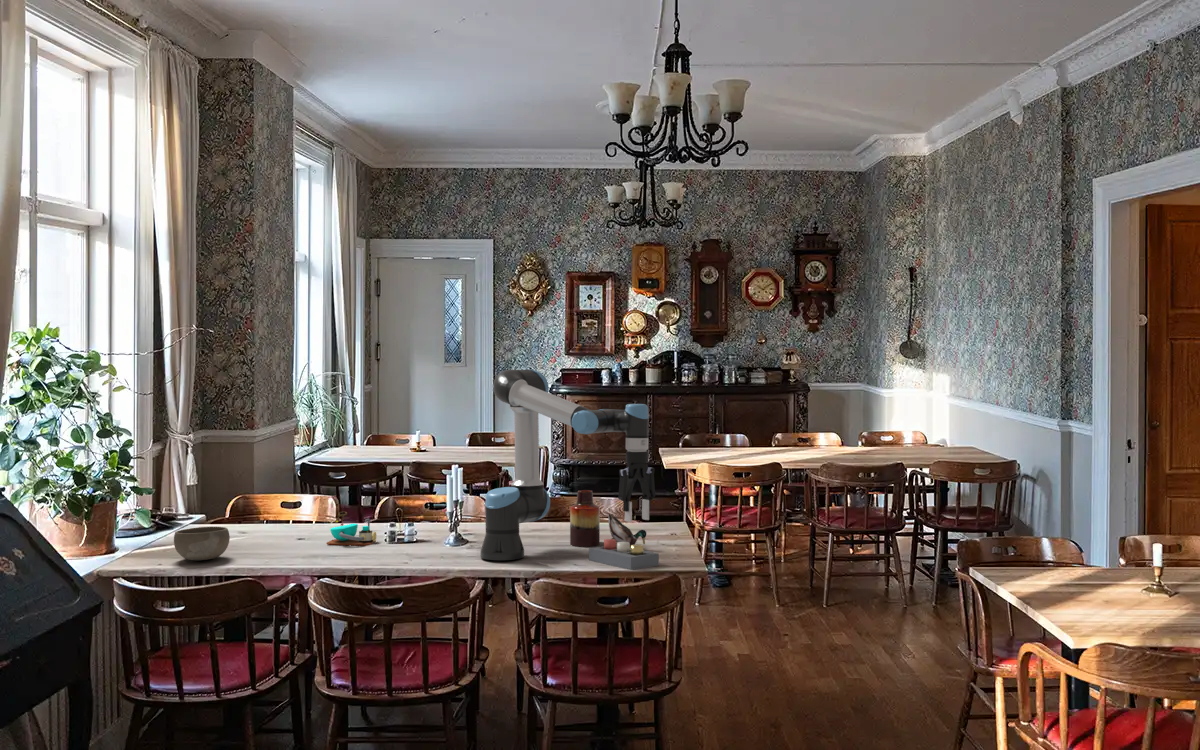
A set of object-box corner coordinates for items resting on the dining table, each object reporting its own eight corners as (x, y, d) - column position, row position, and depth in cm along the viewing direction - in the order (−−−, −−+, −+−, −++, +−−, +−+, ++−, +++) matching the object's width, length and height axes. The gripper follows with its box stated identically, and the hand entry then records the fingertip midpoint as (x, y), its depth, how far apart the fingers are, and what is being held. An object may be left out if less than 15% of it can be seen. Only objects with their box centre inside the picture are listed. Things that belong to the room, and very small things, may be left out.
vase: (605, 546, 375) (605, 491, 375) (584, 549, 368) (584, 493, 368) (585, 543, 383) (585, 488, 383) (564, 546, 375) (564, 490, 375)
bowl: (170, 556, 353) (170, 527, 353) (224, 552, 362) (225, 524, 362) (177, 564, 338) (177, 534, 338) (233, 560, 347) (233, 530, 347)
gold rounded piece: (636, 557, 334) (636, 547, 334) (627, 555, 337) (627, 545, 337) (645, 556, 337) (645, 545, 337) (637, 554, 340) (637, 544, 340)
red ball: (609, 551, 345) (609, 541, 345) (601, 550, 348) (601, 539, 348) (618, 550, 347) (618, 540, 347) (611, 548, 351) (611, 538, 351)
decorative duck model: (654, 540, 366) (638, 501, 369) (644, 543, 359) (628, 503, 363) (621, 554, 373) (606, 516, 376) (611, 558, 366) (595, 518, 369)
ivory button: (622, 554, 339) (622, 544, 339) (614, 553, 343) (614, 542, 343) (632, 553, 342) (632, 542, 342) (624, 551, 345) (624, 541, 345)
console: (630, 569, 330) (630, 557, 330) (589, 560, 347) (589, 548, 347) (658, 565, 337) (658, 553, 337) (616, 556, 355) (616, 544, 355)
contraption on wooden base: (368, 549, 370) (368, 507, 370) (319, 548, 372) (319, 506, 372) (380, 542, 384) (380, 502, 384) (333, 542, 386) (333, 501, 386)
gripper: (621, 452, 328) (621, 524, 328) (666, 450, 340) (666, 519, 340) (606, 451, 334) (606, 521, 334) (651, 448, 346) (651, 516, 346)
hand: (636, 520), depth 337 cm, fingers open, 7 cm apart
